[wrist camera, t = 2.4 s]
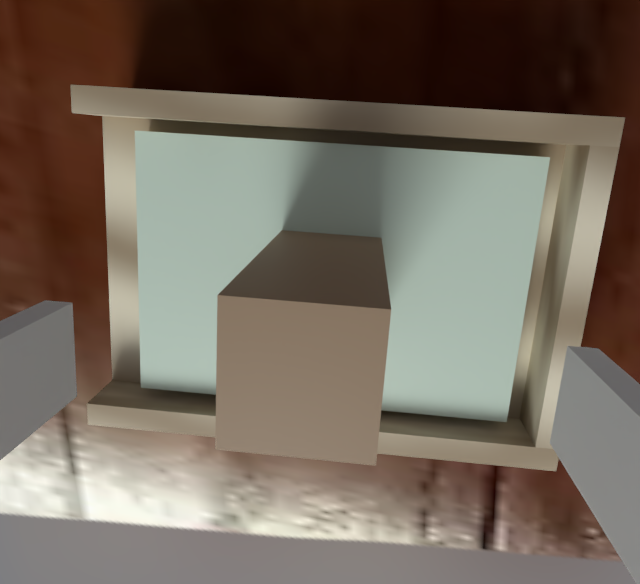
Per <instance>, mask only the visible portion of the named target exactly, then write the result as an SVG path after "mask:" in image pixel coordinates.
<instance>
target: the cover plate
mask: <svg viewBox="0 0 640 584" xmlns="http://www.w3.org/2000/svg"><path fill="white" fill-rule="evenodd" d="M549 162H550V157H540V156H525V155H509V154H494V153H478V152H462V151H447V150H431V149H416V148H400V147H385V146H369V145H354V144H338V143H322V142H307V141H291V140H276V139H260V138H245V137H229V136H214V135H198V134H183V133H167V132H151V131H135V164H136V206H137V248H138V290H139V332H140V375H141V388H150V389H161V390H171V391H182V392H192V393H203V394H213V395H216V431H215V449H217V450H227V451H237V452H247V453H256V454H266V455H276V456H286V457H296V458H306V459H316V460H326V461H336V462H345V463H355V464H365V465H375V466H376V458H377V448H378V438H379V428H380V418H381V410H383V411H393V412H404V413H414V414H425V415H435V416H446V417H457V418H467V419H478V420H488V421H499V422H507V417H508V411H509V405H510V399H511V393H512V386H513V380H514V374H515V368H516V362H517V356H518V350H519V344H520V338H521V332H522V326H523V320H524V314H525V308H526V301H527V295H528V289H529V283H530V277H531V271H532V265H533V259H534V253H535V247H536V241H537V235H538V229H539V223H540V216H541V210H542V204H543V198H544V192H545V186H546V180H547V174H548V168H549Z"/></svg>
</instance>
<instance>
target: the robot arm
mask: <svg viewBox="0 0 640 584" xmlns="http://www.w3.org/2000/svg"><path fill="white" fill-rule="evenodd" d="M75 397H77V388H76V367H75V347H74V326H73V305H72V303H69V302H57V301H46V300H45V301H43V302H41V303H39V304H36V305H34V306H32V307H30V308H28V309H26V310H23V311H21V312H19V313H17V314H15V315H12V316H10V317H8V318H6V319H4V320H2V321H0V460H1V459H2V458H3V457H5V456H6V455H7V454H8V453H9V452H11V451H12V450H13V449H14V448H15V447H17V446H18V445H19V444H20V443H21V442H23V441H24V440H25V439H26V438H27V437H29V436H30V435H31V434H32V433H33V432H35V431H36V430H37V429H38V428H39V427H41V426H42V425H43V424H44V423H45V422H47V421H48V420H49V419H50V418H51V417H53V416H54V415H55V414H56V413H57V412H59V411H60V410H61V409H62V408H63V407H65V406H66V405H67V404H68V403H69V402H71V401H72V400H73V399H74V398H75ZM550 444H551V446H552V447H553V449H554V451H555V452H556V454H557V456H558V457H559V459H560V461H561V462H562V464H563V465H564V467H565V469H566V470H567V472H568V474H569V475H570V477H571V478H572V480H573V482H574V483H575V485H576V487H577V488H578V490H579V491H580V493H581V495H582V496H583V498H584V500H585V501H586V503H587V504H588V506H589V508H590V509H591V511H592V513H593V514H594V516H595V517H596V519H597V521H598V522H599V524H600V526H601V527H602V529H603V530H604V532H605V534H606V535H607V537H608V539H609V540H610V542H611V544H612V545H613V547H614V548H615V550H616V552H617V553H618V555H619V557H620V558H621V560H622V561H623V563H624V565H625V566H626V568H627V569H628V571H629V573H630V574H631V576H632V578H633V579H634V581H635V583H636V584H640V384H639V383H638V382H636V381H635V380H634V379H633V378H632V377H631V376H629V375H628V374H627V373H626V372H625V371H624V370H623V369H621V368H620V367H619V366H618V365H617V364H616V363H614V362H613V361H612V360H611V359H610V358H609V357H608V356H606V355H605V354H604V353H603V352H602V351H601V350H599V349H598V348H587V347H575V346H567V351H566V356H565V362H564V367H563V373H562V378H561V384H560V389H559V395H558V400H557V406H556V411H555V417H554V422H553V428H552V433H551V439H550Z"/></svg>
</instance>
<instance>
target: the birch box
mask: <svg viewBox="0 0 640 584" xmlns="http://www.w3.org/2000/svg"><path fill="white" fill-rule="evenodd" d="M71 105H72V113H78V114H88V115H98V116H102V121H103V147H104V173H105V200H106V226H107V252H108V278H109V305H110V331H111V357H112V381H111V382H110V383H109V384H108V385H107V386H106V387H104V388H103V389H102V390H101V391H100V392H99V393H98V394H97V395H96V396H95V397H94V398H93V399H91V400H90V401H89V402H88V403H87V415H88V425H97V426H107V427H117V428H127V429H137V430H147V431H157V432H167V433H177V434H187V435H197V436H207V437H215V431H216V395H213V394H203V393H192V392H182V391H171V390H161V389H150V388H141V375H140V332H139V290H138V248H137V206H136V164H135V131H151V132H167V133H183V134H198V135H214V136H229V137H245V138H260V139H276V140H291V141H307V142H322V143H338V144H354V145H369V146H385V147H400V148H416V149H431V150H447V151H462V152H478V153H494V154H509V155H525V156H540V157H550V162H549V168H548V174H547V180H546V186H545V192H544V198H543V204H542V210H541V216H540V223H539V229H538V235H537V241H536V247H535V253H534V259H533V265H532V271H531V277H530V283H529V289H528V295H527V301H526V308H525V314H524V320H523V326H522V332H521V338H520V344H519V350H518V356H517V362H516V368H515V374H514V380H513V386H512V393H511V399H510V405H509V411H508V417H507V422H499V421H488V420H478V419H467V418H457V417H446V416H435V415H425V414H414V413H404V412H393V411H383V410H381V418H380V428H379V438H378V448H377V453H378V454H388V455H398V456H408V457H418V458H428V459H438V460H448V461H458V462H468V463H478V464H489V465H499V466H509V467H519V468H529V469H539V470H549V471H556V469H557V464H558V459H559V457H558V456H557V454H556V452H555V451H554V449H553V447H552V446H551V444H550V439H551V433H552V428H553V422H554V417H555V411H556V406H557V400H558V395H559V389H560V384H561V378H562V373H563V367H564V362H565V356H566V351H567V346H575V347H580V346H581V341H582V336H583V331H584V326H585V321H586V315H587V310H588V305H589V300H590V295H591V290H592V285H593V280H594V275H595V269H596V264H597V259H598V254H599V249H600V244H601V239H602V234H603V228H604V223H605V218H606V213H607V208H608V203H609V198H610V193H611V187H612V182H613V177H614V172H615V167H616V162H617V157H618V152H619V146H620V141H621V136H622V131H623V126H624V121H625V118H623V117H607V116H590V115H573V114H556V113H539V112H522V111H506V110H489V109H472V108H455V107H438V106H421V105H404V104H388V103H371V102H354V101H337V100H320V99H303V98H287V97H270V96H253V95H236V94H219V93H202V92H186V91H169V90H152V89H135V88H118V87H101V86H84V85H71Z"/></svg>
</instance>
